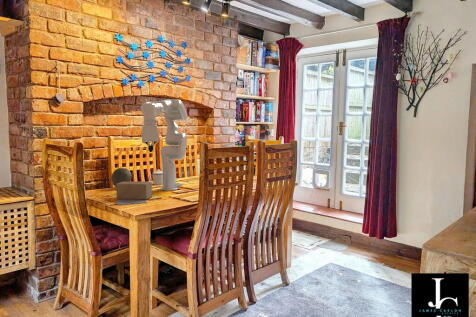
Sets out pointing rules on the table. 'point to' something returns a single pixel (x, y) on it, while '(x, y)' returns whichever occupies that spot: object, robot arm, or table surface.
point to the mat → (130, 201)
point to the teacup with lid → (157, 177)
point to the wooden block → (134, 190)
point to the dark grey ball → (121, 176)
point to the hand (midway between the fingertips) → (150, 151)
